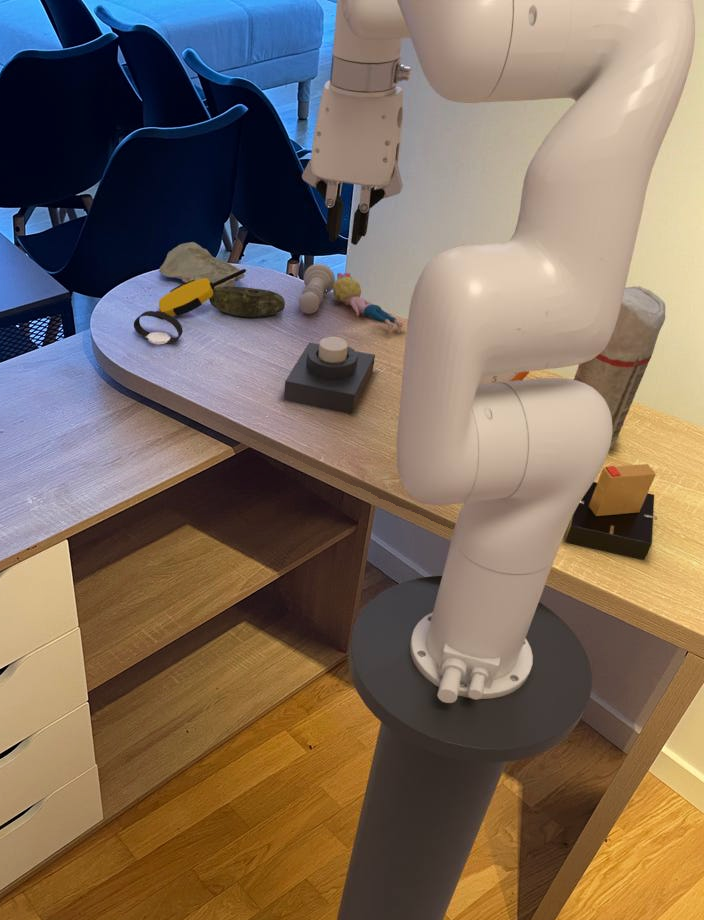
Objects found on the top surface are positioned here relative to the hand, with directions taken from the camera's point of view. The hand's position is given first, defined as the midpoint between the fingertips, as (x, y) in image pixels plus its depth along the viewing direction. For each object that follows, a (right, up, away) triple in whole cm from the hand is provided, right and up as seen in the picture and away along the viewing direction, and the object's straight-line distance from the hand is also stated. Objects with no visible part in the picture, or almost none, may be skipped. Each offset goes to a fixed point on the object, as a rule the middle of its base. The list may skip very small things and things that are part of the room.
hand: (345, 237), depth 115 cm
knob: (+31, -36, -8) cm, 48 cm away
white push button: (0, -12, +12) cm, 17 cm away
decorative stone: (-12, +3, +27) cm, 29 cm away
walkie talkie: (-26, +1, +29) cm, 39 cm away
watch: (-25, -2, +23) cm, 34 cm away
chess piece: (0, +9, +34) cm, 35 cm away
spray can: (+33, -24, +7) cm, 42 cm away
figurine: (+12, -2, +25) cm, 28 cm away
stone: (-16, +14, +40) cm, 46 cm away
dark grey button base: (0, -15, +15) cm, 21 cm away
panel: (+31, -38, -7) cm, 49 cm away
